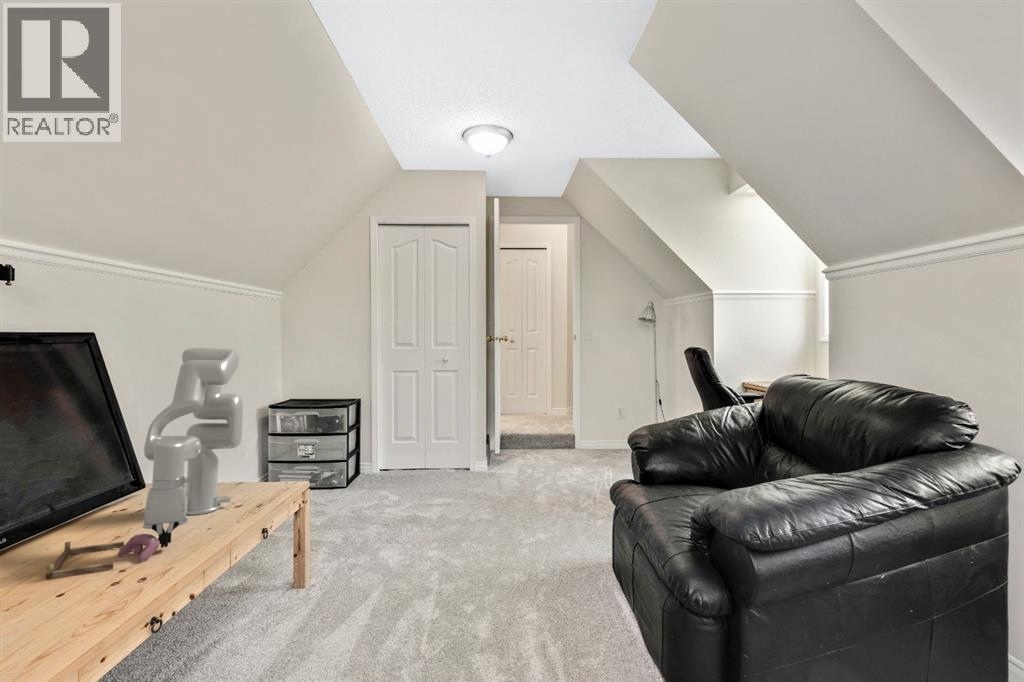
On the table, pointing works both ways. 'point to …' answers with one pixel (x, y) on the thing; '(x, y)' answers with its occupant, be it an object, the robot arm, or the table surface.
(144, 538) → the video game controller
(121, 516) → the table surface
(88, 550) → the frame
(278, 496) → the table surface
